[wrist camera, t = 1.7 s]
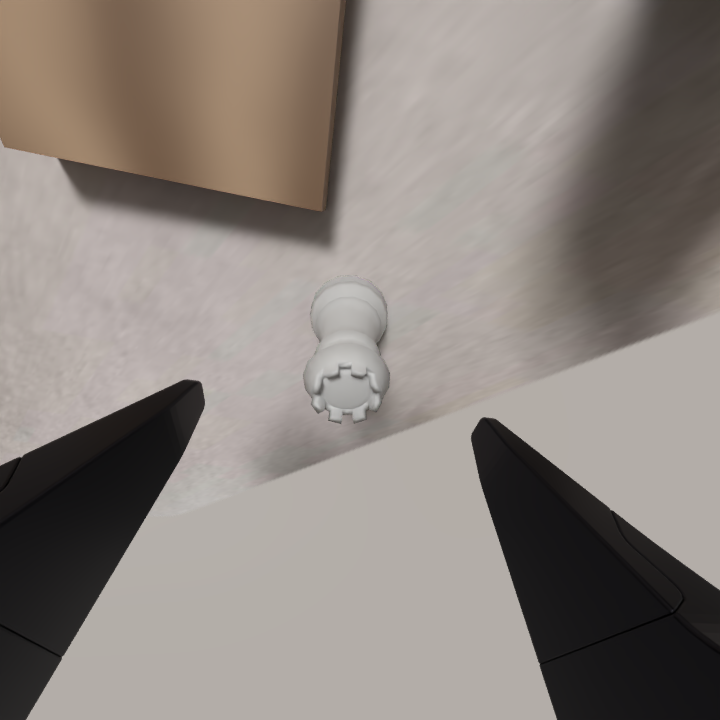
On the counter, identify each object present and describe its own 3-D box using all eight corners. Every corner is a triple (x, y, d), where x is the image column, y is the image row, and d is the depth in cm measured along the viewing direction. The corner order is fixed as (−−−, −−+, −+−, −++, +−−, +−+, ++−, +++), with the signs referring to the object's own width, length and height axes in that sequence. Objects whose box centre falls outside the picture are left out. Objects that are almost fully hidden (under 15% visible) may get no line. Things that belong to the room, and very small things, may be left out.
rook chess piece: (401, 299, 15) (438, 381, 9) (360, 354, 17) (364, 455, 11) (335, 256, 14) (319, 314, 7) (299, 320, 16) (260, 413, 9)
